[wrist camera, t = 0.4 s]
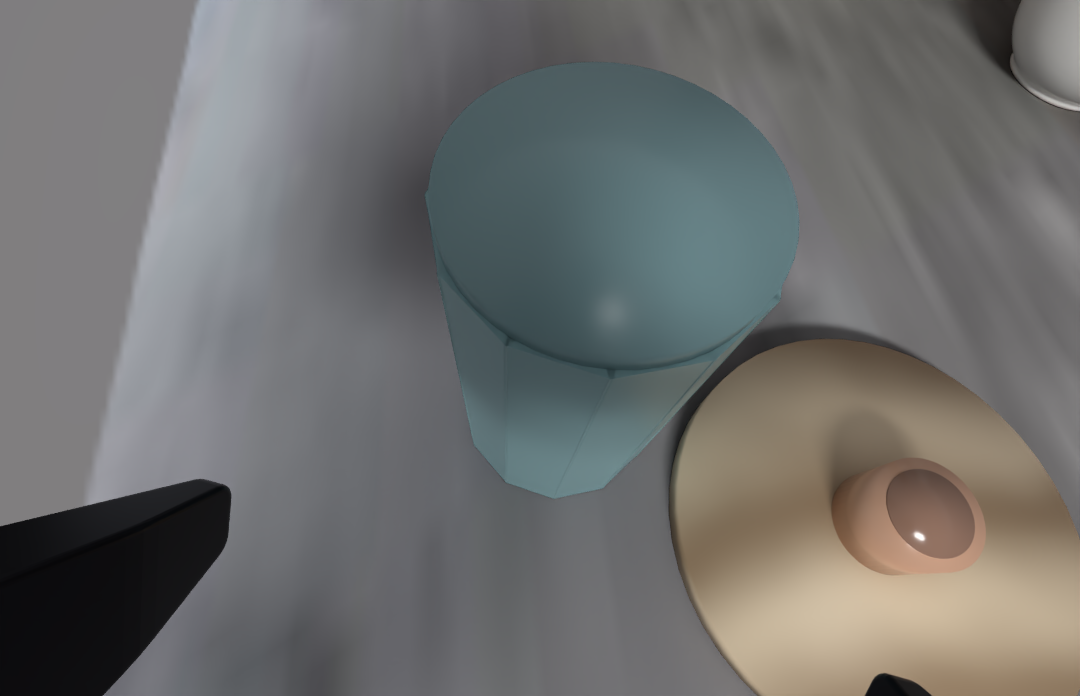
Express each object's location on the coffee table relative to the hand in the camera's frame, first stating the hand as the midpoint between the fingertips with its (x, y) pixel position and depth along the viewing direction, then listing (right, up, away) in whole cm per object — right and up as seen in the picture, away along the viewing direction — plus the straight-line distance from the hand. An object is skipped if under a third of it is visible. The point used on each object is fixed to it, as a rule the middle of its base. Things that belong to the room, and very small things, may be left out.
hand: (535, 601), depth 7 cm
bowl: (+13, -3, +12) cm, 18 cm away
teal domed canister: (+1, +1, +15) cm, 15 cm away
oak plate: (+12, -3, +13) cm, 19 cm away
